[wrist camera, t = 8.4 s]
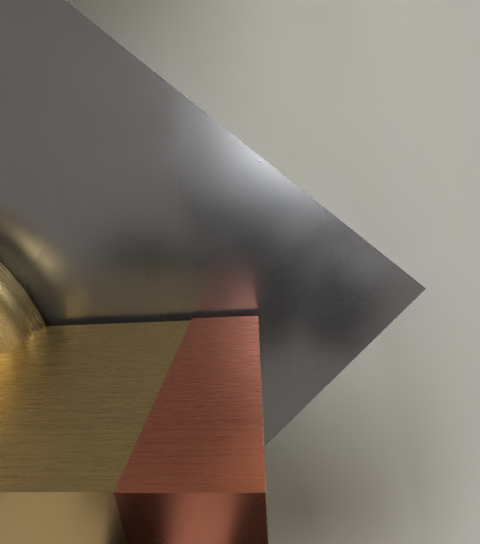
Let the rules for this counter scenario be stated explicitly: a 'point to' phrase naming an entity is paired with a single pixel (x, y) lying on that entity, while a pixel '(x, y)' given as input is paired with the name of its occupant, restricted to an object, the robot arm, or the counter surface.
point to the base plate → (169, 213)
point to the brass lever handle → (129, 430)
